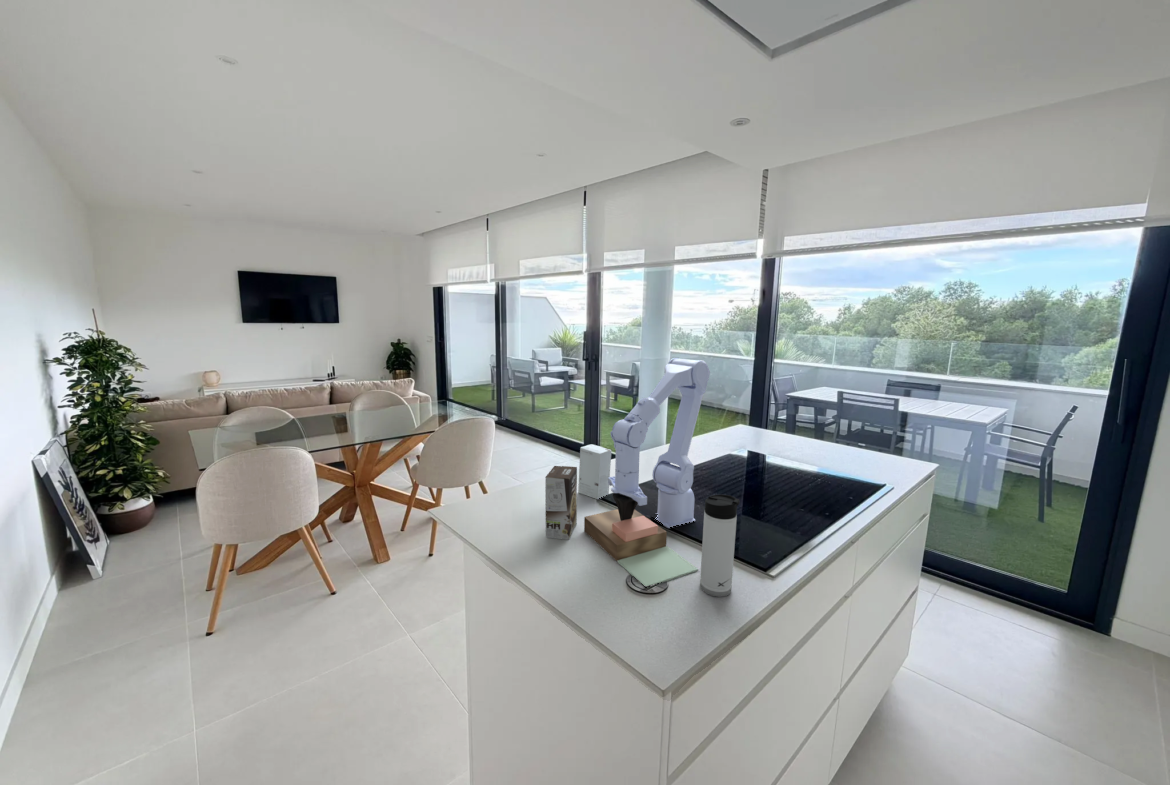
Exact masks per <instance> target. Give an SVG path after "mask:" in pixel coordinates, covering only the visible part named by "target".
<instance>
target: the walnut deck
mask: <svg viewBox="0 0 1170 785" xmlns="http://www.w3.org/2000/svg"><path fill="white" fill-rule="evenodd" d="M640 516H644V514H642V513H640V512H639V511H638V510H636V509H635V510H634V512H633V515H632V518H635V517H640ZM583 519H584V520H583V521H584V522H583V524H584V525H583V526H584V529H583V531H584V533H585V534H587V535H588V536H589V537H590V538H591V539H592V540H593V541H594V542H595V543H596V544H598V545H599V547H600V548H602V549H603V551H605V552H606V553H607V554H608V555H609V556H610V557H611V558H612V559H613V560H615V561H616V562H618V560H621V559H624V558H628V557H631V556H635V555H638V554H642V553H645V552H648V551H652V550H655V549H659V548H662V547H666V546H667V538H668V536H667V534H668V533H667V532H668V531H666V530H665V529H663V528H662V527H661V526H659V525H658V533H657V534H654V535H650V536H646V537H643V538H639V539H635V540H632V541H628V542H625V541H624V540H623V539H621V538H620V537H619V536H618V535H617V534H615V533H614V532H613V531H612V523H615V522H619V521H621V520H620V515H619V511H618V508H617V509H612V510H609V511H608V510H607V511H604V512H600V513H599V512H598V513H594V514H591V515H587V516H584V518H583ZM649 520H650V521H652V520H651V519H649ZM652 522H653V521H652ZM653 523H655V522H653Z"/></svg>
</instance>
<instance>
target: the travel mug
mask: <svg viewBox="0 0 1170 785" xmlns="http://www.w3.org/2000/svg"><path fill="white" fill-rule="evenodd" d="M740 504H741V503H740V499H739V498H736V497H735V496H732V495H729V494H712V495H710V496H708V497H707V498H706V499H705V500H704V512H703V528H702V543H701V544H702V546H701V547H702V548H701V562H700V563H701V564H700V580H699V587H700V588H701V590H702V591H703V592H704V593H706V594H707V595H710V596H712V597H720V598H722V597H726V596H728V595H730V594H731V593H732V586H733V575H734V574H733V573H734V560H735V558H734V557H735V546H736V545H735V544H736V533H737V517H738V516H737V513H738V512H737V511H738V506H739V505H740Z"/></svg>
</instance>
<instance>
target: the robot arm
mask: <svg viewBox="0 0 1170 785" xmlns="http://www.w3.org/2000/svg"><path fill="white" fill-rule="evenodd" d="M710 374H711V371H710V369H709V365H708V364H707V362H706V361H705V360H703V359H702V360H701V359H700V360H697V359H688V358H679V357H673V358H671V359H669V361H668V362H667V364H665V366H664V374H663V376H661V379H660V380H659V381H658V383H657V384H656V386H655V387H654V389H652V392H651V393H650V395H649V396H648V397H642V398H640V399H639V400H638V401H637V403H636V404H635V406H634V407H632V409H631V410H630V412H628V414H627V415H626V416H625V417H624V419H619V420H618V421H616V422H614V425H613V426H612V430H611V431H610V432H609V433H610V437H611V440H612V441H613V447H614V449H615V464H614V467H615V469H614V470H615V472H614V474H615V475H614V476H610V477H608V485H609V487H611V486H612V487H611V488H610V492H612V497H613V499H614V502H615V504H616V507H617V509H618V511H619V515H620V520H621V521H623V520H627V519H631V518H632V515H633V512H634V510H636V507H637V506H640V507H641V506H646V505H648V496H647V495H645V494H644V492H643V490H642V489H641V487H640V486H639V484H640V483H639V480H640V452H641V451H640V449H641V448H640V447H641V445H642V444H644V442H645V440H646V435H647V433H648V431H649V427H650V426H651V425H652V423H653V422H654V421H655V419H656V418H657V417H658V416H659V414H660V413H661V411H660V410H661V409H660V406H661V405H662V404H663V403H664V401H666V400H667V398H668V397H669V396H671V395H672V394H673V393H674V392H675V390H676V389H677V390H679V392H680V394H681V399H680V403H679V405H678V411H677V414H676V418H675V422H674V427H673V429H672V433H671V438H670V441H669V445H668V450H667V451H666V452H664V453H662V454H661V455H659V456H658V460H657V462H656V463H655V465H654V466H653V469H652V480H653V481H654V483H656V488H658V492H657V513H656V514H658V515H657V517H658V518H657V517H656V518H657V519H656V518H655V519H656V520H658V521H659V522H661V523H662V524H663V527H665V528H667V529H671V528H670V527H672V528H674V527H673V526H676V525H679V526H682V525H681V524H683V525H686V524H685V523H687V524H690V523H693V521H694V522H696V518H694V514H695V495H694V491H693V490H692V486H693V483H694V470H695V465H694V464H693V462H692V461H691V460H690V459H689V457H688V455H689V451H690V447H691V444H692V439H693V435H694V433H695V428H696V425H697V420H698V417H699V412H700V409H701V404H702V400H703V397H704V394H705V393H706V391H707V387H708V383H709V378H710ZM655 519H654V520H655ZM656 520H655V521H656ZM658 521H657V522H658ZM659 522H658V523H659ZM689 522H690V523H689ZM661 523H660V524H661ZM662 524H661V525H662ZM676 527H677V526H676Z"/></svg>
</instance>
